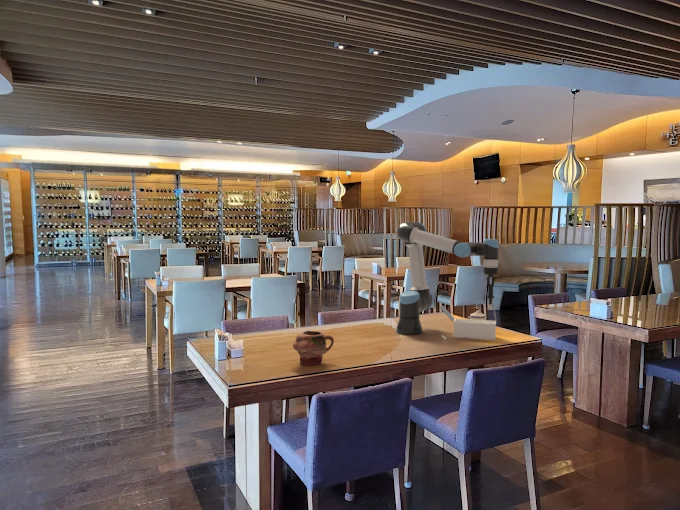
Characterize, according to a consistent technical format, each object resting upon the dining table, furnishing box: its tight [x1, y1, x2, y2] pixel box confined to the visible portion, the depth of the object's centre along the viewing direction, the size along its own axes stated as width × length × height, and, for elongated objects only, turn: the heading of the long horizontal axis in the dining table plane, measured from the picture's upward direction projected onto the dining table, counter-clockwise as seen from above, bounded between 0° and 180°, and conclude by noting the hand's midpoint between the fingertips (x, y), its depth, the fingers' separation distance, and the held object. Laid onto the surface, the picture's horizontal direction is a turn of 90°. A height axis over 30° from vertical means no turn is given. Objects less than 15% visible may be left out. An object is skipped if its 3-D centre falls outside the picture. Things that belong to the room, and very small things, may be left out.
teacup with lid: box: [466, 310, 487, 320], centre depth 287 cm, size 12×9×12 cm
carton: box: [453, 318, 497, 341], centre depth 267 cm, size 22×9×9 cm, turn 73°
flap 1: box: [439, 305, 456, 322], centre depth 271 cm, size 10×9×1 cm
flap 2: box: [493, 301, 497, 324], centre depth 264 cm, size 10×9×1 cm
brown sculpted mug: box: [292, 330, 335, 366], centre depth 220 cm, size 20×12×14 cm, turn 121°
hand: (490, 309), depth 264 cm, fingers closed
